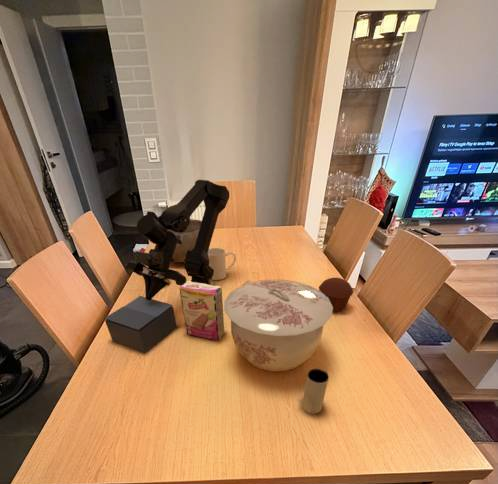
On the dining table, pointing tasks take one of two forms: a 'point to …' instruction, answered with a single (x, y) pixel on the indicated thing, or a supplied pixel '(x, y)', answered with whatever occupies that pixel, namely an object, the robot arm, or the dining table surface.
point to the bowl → (186, 240)
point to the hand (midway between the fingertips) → (147, 299)
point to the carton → (139, 328)
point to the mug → (219, 262)
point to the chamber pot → (277, 322)
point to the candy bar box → (203, 310)
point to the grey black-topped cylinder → (315, 390)
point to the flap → (148, 306)
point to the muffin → (337, 292)
